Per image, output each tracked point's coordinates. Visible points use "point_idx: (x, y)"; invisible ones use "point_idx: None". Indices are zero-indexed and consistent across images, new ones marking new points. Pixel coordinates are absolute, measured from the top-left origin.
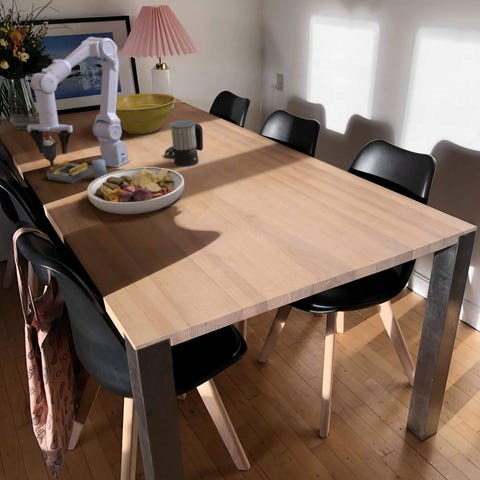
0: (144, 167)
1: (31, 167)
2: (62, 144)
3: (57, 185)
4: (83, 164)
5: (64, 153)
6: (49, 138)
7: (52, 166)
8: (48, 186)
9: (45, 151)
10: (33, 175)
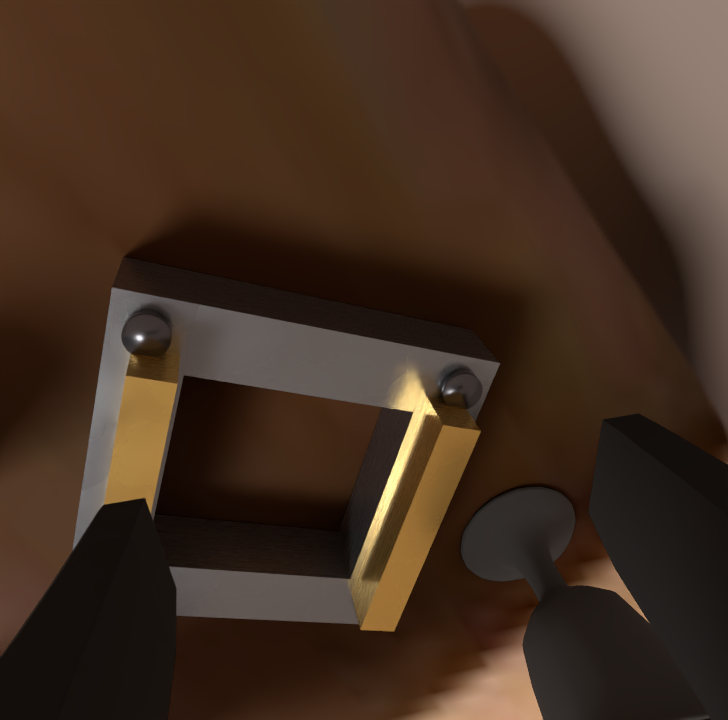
0: None
1: None
2: (18, 706)
3: (276, 171)
4: None
5: (97, 512)
6: None
7: (466, 457)
8: (373, 128)
9: (642, 658)
10: (651, 394)
